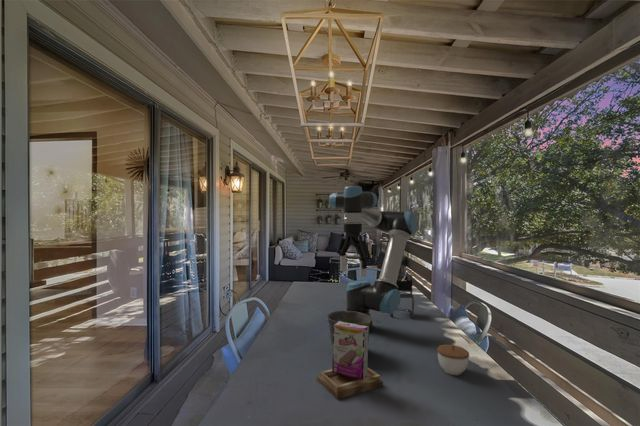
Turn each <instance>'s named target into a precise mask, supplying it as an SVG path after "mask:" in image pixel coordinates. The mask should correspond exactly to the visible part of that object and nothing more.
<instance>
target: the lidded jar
mask: <svg viewBox="0 0 640 426" xmlns="http://www.w3.org/2000/svg"><path fill="white" fill-rule="evenodd" d="M469 357H470V352H469V351H468V350H467V349H466V348H464V347H462V346H458V345H455V344H441V345H440V344H439V346H438V347H437V359H438V363H439V366H440V367H441V369H442V370H443V371H444V372H445V373H446V374H448V375H452V376H461V374H462V373H463V372H465V371H466V369H467V368H468V365H469Z"/></svg>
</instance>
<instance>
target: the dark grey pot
mask: <svg viewBox="0 0 640 426" xmlns="http://www.w3.org/2000/svg"><path fill="white" fill-rule="evenodd" d="M326 316H327V321H328V327H329V334H330V335H329V336H330V342H331V345H332V347H333V331H334V324H336V323H337V322H338V321H341V322H347V323H352V324H357V325H363V326H368V327H369V329H370V323H371V320H372V321H373V319H372V316H371V315H370V316H371V317H370V316H368V315H366V314H363V313H360V312H356V311H347V312H346V310H336V311H333V312H329V313H328V314H327V315H326ZM369 338H370V332H369V333H368V342H370V341H369V340H370V339H369Z"/></svg>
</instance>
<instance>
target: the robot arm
mask: <svg viewBox="0 0 640 426" xmlns="http://www.w3.org/2000/svg"><path fill="white" fill-rule="evenodd" d="M343 189H344V190H343V191H342V192H339V191H338V192H332V193H331V194H330V195H329V199H328V204H329V206H330V208H332V209H336V210H338V209H339V210H341V211H343V222H344V223H343V232H344V233H341V234H340V240H339V243H338V247H337V251H336V254H338V255H339V262H340V264H339V266H340V272H344V271H347V252H348V250H349V249H350V247H351V246H353V247H354V248H355V249H356V252H357V254H358V257H359V258H360V259H359V277H360V278H363V277H367V269H368V265H367V263H368V262H367V261H368V260H369V261H370V260H371V259H372V257H371V253H370V251H369V248H368V245H367V244H368V243H367V241H366V235H361V233H362V232H363V224H362V222H363V221H364V222H366V224H367V225H368V226H369V227H371V228H374V229H376V230H378V231H381V232H384V233H388V235H389V240H388V244H387V248H386V250H385V254H384V255H385V256H384V258H383V263H382V266H381V268H380V269H381V270H380V273H379V278H377V279H375V280H374V282H373V283H374V284H373V285H372V284H371V282H370V280H353V281H350V282H348V283H347V285H346V310H345V311H346V312H347V311H356V312H360V313H363V314H366V315H368V316H370V317H371V318H372V316H371V314H370V310H371V311H374V312H378V313H382V314H390V313H392V314H393V313H395V312H396V311H397V310H396V309H397V308H399V306H400V303H401V299H402V298H400V296H401V294H402V293H401V291H399V290H398V286H397V284H396V282H397V280H398V277H399V275H398V274H400V273H399V272H400V269H401V265H402V261H403V257H404V253H405V248H406V244H407V242H408V241H409V240H410V239H411V238H412V235H414V234H417V232H418V219H417V217H416V214H415V213H414V212H413V211H406V210H404V211H397V210H396V211H394V210H393V211H392V210H387V211H384V210H378V209H377V208H376V209H375V207H376V206H377V205H378V200H379V199H378V197H377V195H376V193H375V192H370V191H363V188H362V186H360V185H348V186H345V187H344V188H343ZM373 325H374V323H373V319H372V320H371V323H370V329H369V332H370V331H372V330H373V329H374V328H373Z"/></svg>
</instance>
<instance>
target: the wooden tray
mask: <svg viewBox="0 0 640 426" xmlns="http://www.w3.org/2000/svg"><path fill="white" fill-rule="evenodd" d="M316 381H317V382H318V383H319V384H320V385H321V386H322V387H323V388H324V389H325V390H327V391H328V392H329V393H330V394H331V395H332V396H333V397H334V399H336V400H340V399H344V398H346V397H347V398H348V397H349V396H354V395H356V394H359V393H360V394H361V393H363V392H367V391H370V390H374V389H376V388H380V387H383V386H384V381H383V380H382V379H381V375H380V374H378V373H377V372H376V371H374V370H373V369H371V368H369V367H368V366H367V375H366V376H365V378H364V379H363V380H360V379H357V378H353V377H348V376H345V375H341V374H337V373H333V372H332V369H327V370H323V371H320V372H319V374H318V375H316Z"/></svg>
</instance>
